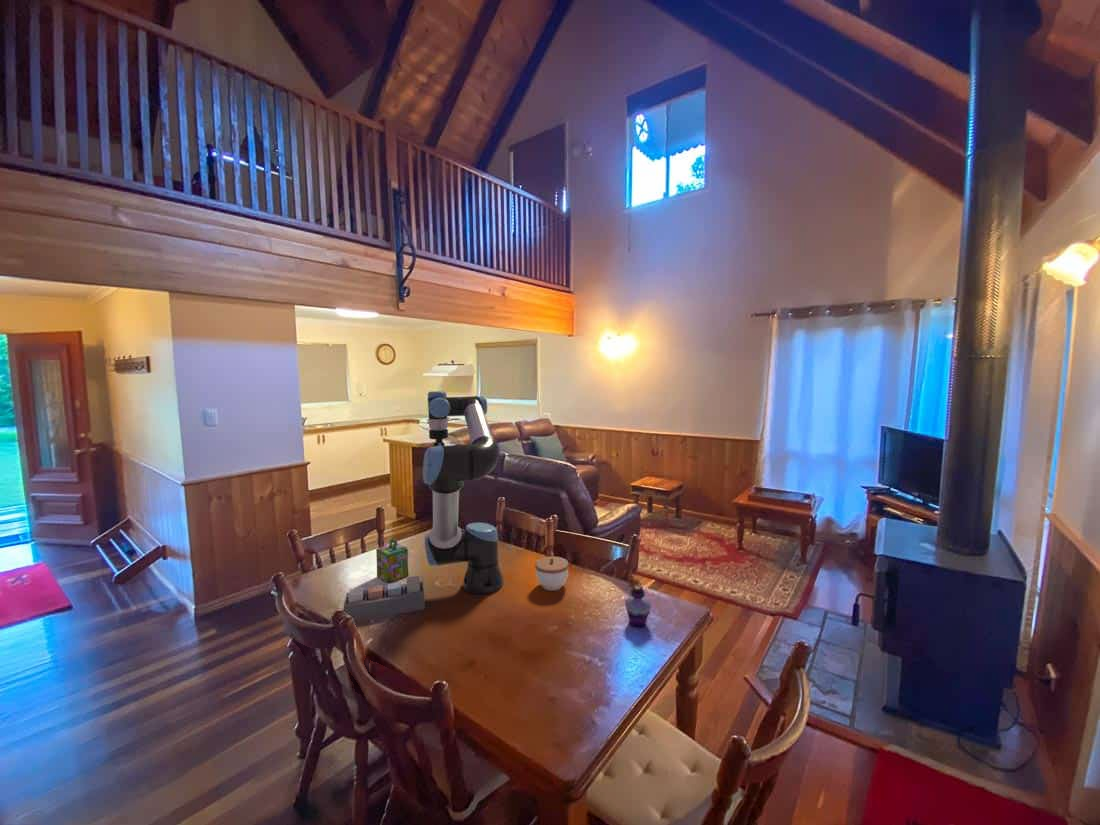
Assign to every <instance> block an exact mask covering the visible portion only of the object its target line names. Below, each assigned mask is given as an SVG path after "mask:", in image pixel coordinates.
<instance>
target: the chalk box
mask: <svg viewBox="0 0 1100 825" xmlns="http://www.w3.org/2000/svg"><path fill="white" fill-rule="evenodd" d="M409 575H410V574H409V549H408V547H406V546H404V545H401V544H400V543H398V540H395V539H393V538H390V540H389V544H388V545H386V546H383V547H379V548H376V578H377V577H378V579H380V580H382V581H384V582H385V583H387V584H391V583H394V582H395V581H398V580H400V579H403V578H407V577H408V576H409ZM409 577H410V576H409Z"/></svg>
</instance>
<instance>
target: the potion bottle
mask: <svg viewBox="0 0 1100 825" xmlns="http://www.w3.org/2000/svg"><path fill="white" fill-rule="evenodd" d="M630 595H631V596H629V597H627V598H626V599H624V604H625V609H626V611H627V612H626V613H627V614H628V615H627V616H628V620H629V621H628V623H629V626H632V627H634V628H637V629H638V628H639V629H641V628H644V627H646V626H647V620H648V618H649V617H648V616H649V615H650V612H651V608H652V603H651V601H650V599H647V598H645V595H646V593H645V590H644V588H643V586H641V585H633V586H632V589H631V590H630Z"/></svg>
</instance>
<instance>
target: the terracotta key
mask: <svg viewBox="0 0 1100 825" xmlns="http://www.w3.org/2000/svg"><path fill="white" fill-rule="evenodd" d="M383 587H384V586H383V584H378V585H374V586H368V589H367V590H368V599H369V600H370V599H377V598H383Z"/></svg>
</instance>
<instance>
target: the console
mask: <svg viewBox="0 0 1100 825" xmlns="http://www.w3.org/2000/svg"><path fill="white" fill-rule="evenodd" d="M401 589H402V595H395V596H389V597H388V586H383V598H377V599H370V600H369V599H368V590H369V589H363V591H364V601H358V602H351V603H348V594H349V592H346V595H345V600H344V603H343V613H344V612H345V613H347V614H348V615H350V616H351V617H352V618H353V619H354V621H353V622H359V621H363V620H364V619H365V620H369V618H370V619H375V618H381V617H387V616H394V615H398V614H399V615H400V614H405V613H409V612H415V611H416V612H417V611H421V610H422V611H423V610H425V609H426V608H425V607H426V604H425V587H424V581H422V580H420V592H414V593H408V594H407V583H401ZM365 620H364V621H365Z"/></svg>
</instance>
